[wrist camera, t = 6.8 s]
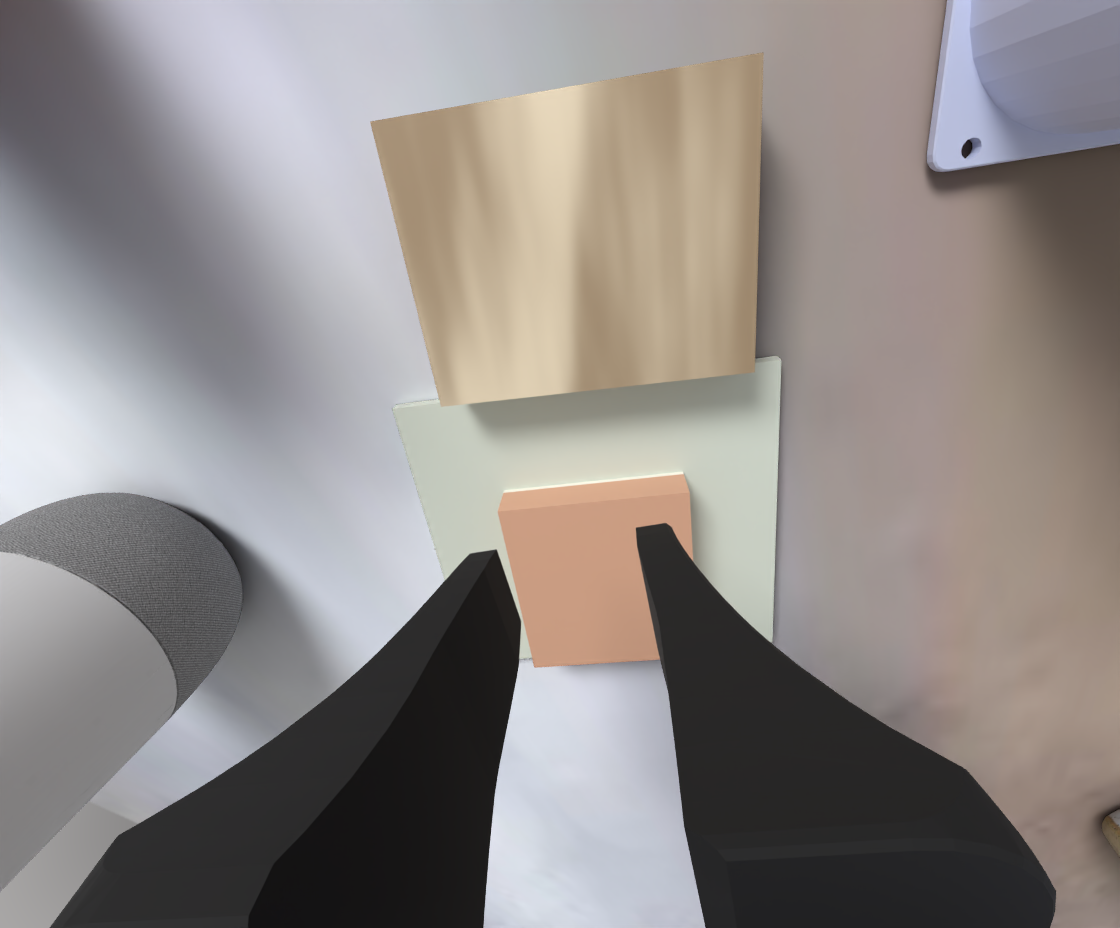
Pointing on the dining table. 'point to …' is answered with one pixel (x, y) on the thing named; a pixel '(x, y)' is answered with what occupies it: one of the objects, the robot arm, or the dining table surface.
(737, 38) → the dining table surface
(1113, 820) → the ceramic mug
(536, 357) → the light wooden block
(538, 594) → the tile
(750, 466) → the mat
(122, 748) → the smart speaker
